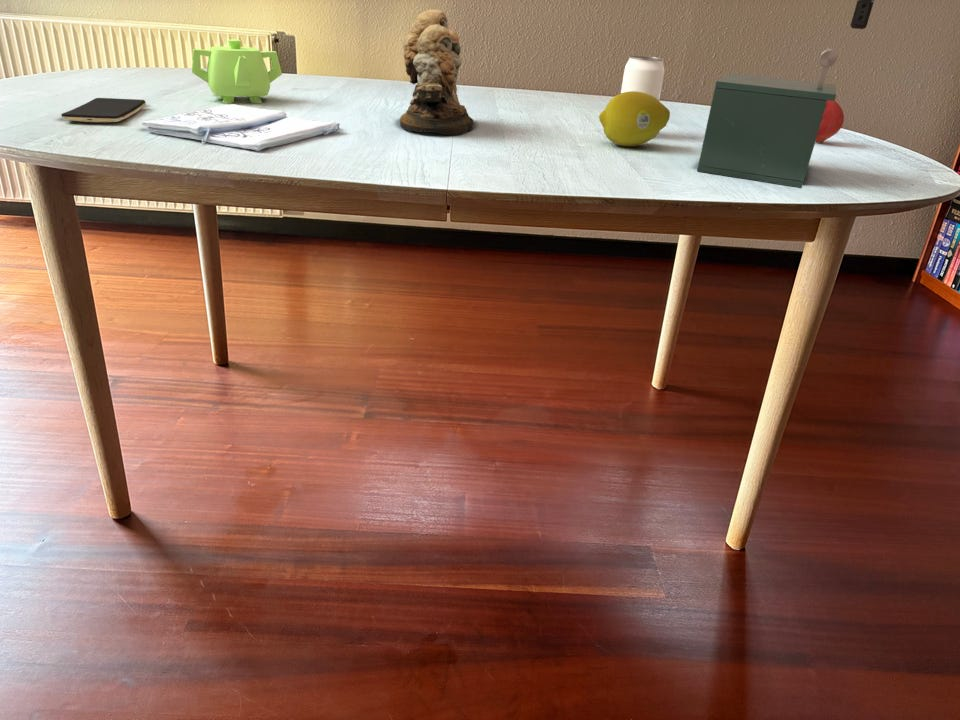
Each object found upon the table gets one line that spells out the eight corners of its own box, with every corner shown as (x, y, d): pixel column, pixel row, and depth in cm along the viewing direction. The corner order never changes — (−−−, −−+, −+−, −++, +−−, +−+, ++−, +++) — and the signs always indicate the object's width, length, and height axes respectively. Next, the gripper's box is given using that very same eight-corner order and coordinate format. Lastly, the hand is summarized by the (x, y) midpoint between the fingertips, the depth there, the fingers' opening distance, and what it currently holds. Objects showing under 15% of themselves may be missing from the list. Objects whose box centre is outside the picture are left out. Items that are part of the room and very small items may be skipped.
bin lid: (834, 90, 95) (847, 48, 92) (834, 101, 84) (848, 53, 81) (728, 79, 100) (737, 38, 97) (714, 87, 89) (724, 42, 86)
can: (608, 130, 118) (619, 54, 112) (640, 130, 120) (653, 56, 114) (626, 137, 113) (639, 59, 107) (660, 137, 115) (674, 60, 109)
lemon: (597, 148, 104) (605, 92, 100) (593, 138, 111) (600, 85, 107) (668, 154, 103) (679, 98, 100) (659, 143, 110) (669, 91, 106)
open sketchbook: (238, 115, 109) (236, 101, 108) (344, 133, 102) (343, 117, 101) (140, 132, 93) (137, 116, 92) (256, 154, 87) (255, 137, 86)
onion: (814, 146, 117) (829, 96, 113) (793, 139, 122) (806, 91, 118) (843, 146, 119) (858, 98, 115) (821, 139, 123) (835, 92, 120)
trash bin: (805, 168, 100) (828, 90, 95) (801, 187, 89) (827, 100, 84) (711, 154, 105) (728, 79, 100) (696, 171, 94) (714, 88, 89)
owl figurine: (470, 140, 103) (476, 14, 95) (392, 134, 103) (392, 8, 95) (475, 120, 119) (481, 10, 111) (407, 115, 119) (408, 5, 111)
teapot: (191, 100, 118) (182, 37, 114) (233, 92, 128) (227, 35, 123) (248, 108, 115) (242, 44, 111) (287, 100, 125) (283, 41, 120)
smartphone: (59, 114, 95) (96, 97, 108) (61, 122, 95) (97, 105, 108) (116, 116, 96) (146, 99, 109) (118, 124, 96) (147, 107, 109)
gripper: (926, -101, 93) (885, 31, 100) (918, -89, 104) (882, 29, 112) (865, -102, 95) (830, 27, 103) (864, -90, 107) (832, 26, 114)
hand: (857, 28), depth 107 cm, fingers open, 8 cm apart
